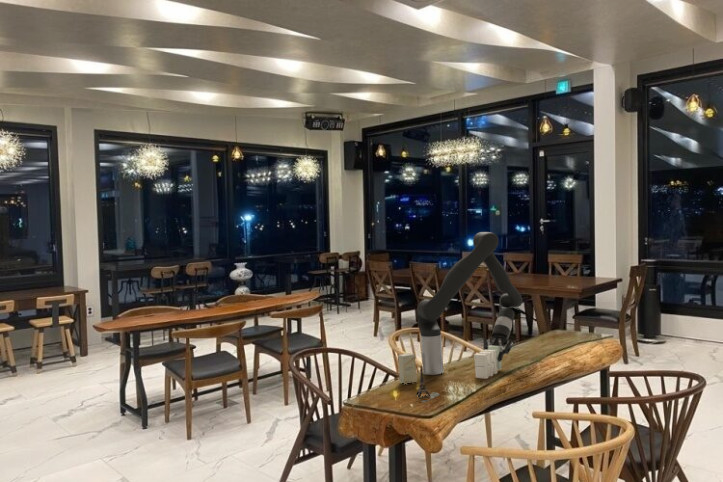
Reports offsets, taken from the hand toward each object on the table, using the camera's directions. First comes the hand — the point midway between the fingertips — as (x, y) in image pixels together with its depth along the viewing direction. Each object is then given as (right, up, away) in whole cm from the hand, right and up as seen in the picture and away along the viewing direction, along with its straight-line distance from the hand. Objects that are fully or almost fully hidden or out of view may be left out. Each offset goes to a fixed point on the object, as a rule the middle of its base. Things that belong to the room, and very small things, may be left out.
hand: (493, 359), depth 250 cm
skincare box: (-38, -8, -9) cm, 40 cm away
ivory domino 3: (-1, -5, -2) cm, 6 cm away
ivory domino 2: (-4, -5, -6) cm, 9 cm away
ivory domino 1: (-7, -6, -9) cm, 13 cm away
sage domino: (+1, -4, +1) cm, 5 cm away
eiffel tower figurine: (-34, -8, -31) cm, 47 cm away
